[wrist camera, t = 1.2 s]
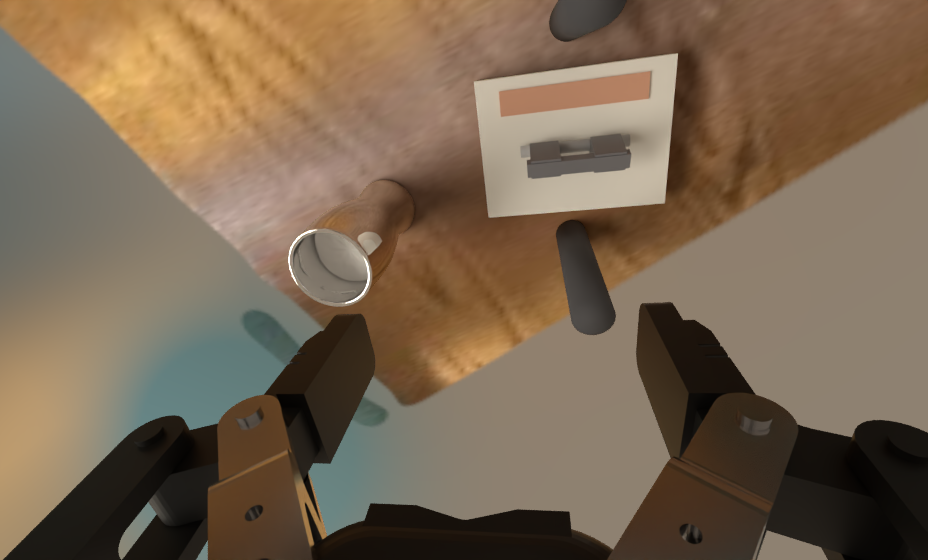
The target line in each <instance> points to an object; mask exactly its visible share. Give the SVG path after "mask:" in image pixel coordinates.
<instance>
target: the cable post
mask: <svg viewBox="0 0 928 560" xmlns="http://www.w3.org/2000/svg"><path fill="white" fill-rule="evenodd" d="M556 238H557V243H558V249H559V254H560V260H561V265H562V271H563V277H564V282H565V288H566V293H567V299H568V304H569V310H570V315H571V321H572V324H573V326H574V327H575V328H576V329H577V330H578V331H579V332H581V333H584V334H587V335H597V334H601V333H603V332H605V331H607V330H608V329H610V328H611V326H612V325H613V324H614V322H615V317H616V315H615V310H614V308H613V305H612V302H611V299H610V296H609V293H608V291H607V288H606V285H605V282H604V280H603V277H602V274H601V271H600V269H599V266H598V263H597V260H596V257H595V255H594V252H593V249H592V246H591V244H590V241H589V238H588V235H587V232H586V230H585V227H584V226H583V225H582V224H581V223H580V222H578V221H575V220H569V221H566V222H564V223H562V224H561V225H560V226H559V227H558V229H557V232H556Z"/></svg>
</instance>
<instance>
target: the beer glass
mask: <svg viewBox="0 0 928 560" xmlns="http://www.w3.org/2000/svg"><path fill="white" fill-rule="evenodd" d="M414 215H415V207H414V203H413V200H412V198H411V196H410V194H409V193H408V192H407V190H406V189H405V188H404V187H402V186H401V185H399V184H398V183H396V182H393V181H389V180H378V181H374V182H372V183H370V184H369V185H367V186H366V187H365V188H364V190H363V191H362V193H361V194H360V197H359V198H356V199H353V200H350V201H347V202H344V203H341V204H339V205H337V206H334V207H332V208H331V209H329V210H328V211H326V212H325V213H323V214H322V215H320V216H319V217H318V218H317V219H316V220H315V221H313V222H312V223H311V224H310V225H309V226H308V227H307V228H306V229H305V230H304V232H303V233H302V234H300V235H299V236H298V237H297V238H296V239H295V240H294V242H293V243H292V245H291V247H290V250H289V254H288V264H289V269H290V272H291V275H292V277H293V279H294V281H295V282H296V284H297V285H298V286H299V287H300V289H301V290H302V291H303V292H304V293H306V294H307V295H308V296H309V297H311V298H312V299H314V300H316V301H318V302H320V303H323V304H326V305H330V306H338V307H341V306H348V305H352V304H354V303H356V302H358V301H360V300H361V299H362V298H363V297H364V296H365V295H366V294H367V292H368V291H369V290H370V289H371V288H372V287H373V286H374V284H375V283H376V282H377V281H378V280H379V279H380V277H381V276H382V275H383V273H384V272H385V270H386V269H387V267H388V265H389V264H390V262H391V260H392V257H393V255H394V252H395V249H396V245H397V241H398V237H399V235H400V234H401V233H403V232H404V231H406V230H407V229H408V228H409V226H410V225H411V223H412V221H413V219H414Z"/></svg>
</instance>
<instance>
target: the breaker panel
mask: <svg viewBox="0 0 928 560" xmlns="http://www.w3.org/2000/svg"><path fill="white" fill-rule="evenodd" d="M677 60H678V53H675V54H662V55H655V56H648V57H641V58H634V59H627V60H619V61H612V62H605V63H598V64H591V65H584V66H576V67H569V68H562V69H555V70H548V71H541V72H533V73H526V74H519V75H512V76H505V77H498V78H490V79H483V80H477V81H475V82H474V86H475V96H476V105H477V114H478V124H479V133H480V142H481V152H482V161H483V170H484V180H485V189H486V198H487V208H488V217H489V218H492V217H504V216H516V215H528V214H540V213H553V212H565V211H577V210H589V209H601V208H614V207H626V206H638V205H650V204H662V203H665V195H666V183H667V172H668V161H669V150H670V138H671V127H672V116H673V105H674V93H675V82H676V71H677ZM612 134H621V135H625V134H630V146H629V147H626V149H630V152H631V162H630V168H625V170H620V171H610V172H599V173H594V172H584V173H574V174H563V175H561V176H558V177H547V178H537V179H532V178H528V173H527V160H530V157H526V158H521V151H520V146H526V145H530V144H531V143H540V142H549V141H558V142H562V141H571V140H580V139H589V138H590V137H594V136H603V135H612ZM588 153H589V151H583V152H573V153H564V154H561V156H569V155H579V154H588Z"/></svg>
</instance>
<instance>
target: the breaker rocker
mask: <svg viewBox="0 0 928 560" xmlns="http://www.w3.org/2000/svg"><path fill="white" fill-rule="evenodd" d="M629 146H630V134H625V135H621V134H612V135H603V136H594V137H590V138H589V139H580V140H571V141H562V142H558V141H549V142H540V143H531V144H530V145H526V146H520V151H521V158H526V157H530V160H527V173H528V178H532V179H537V178H547V177H558V176H561V175H563V174H574V173H584V172H594V173H599V172H610V171H620V170H625V168H630V162H631V152H630V149H626V147H629ZM583 151H589V153H588V154H579V155H569V156H561V154H564V153H573V152H583Z"/></svg>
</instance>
